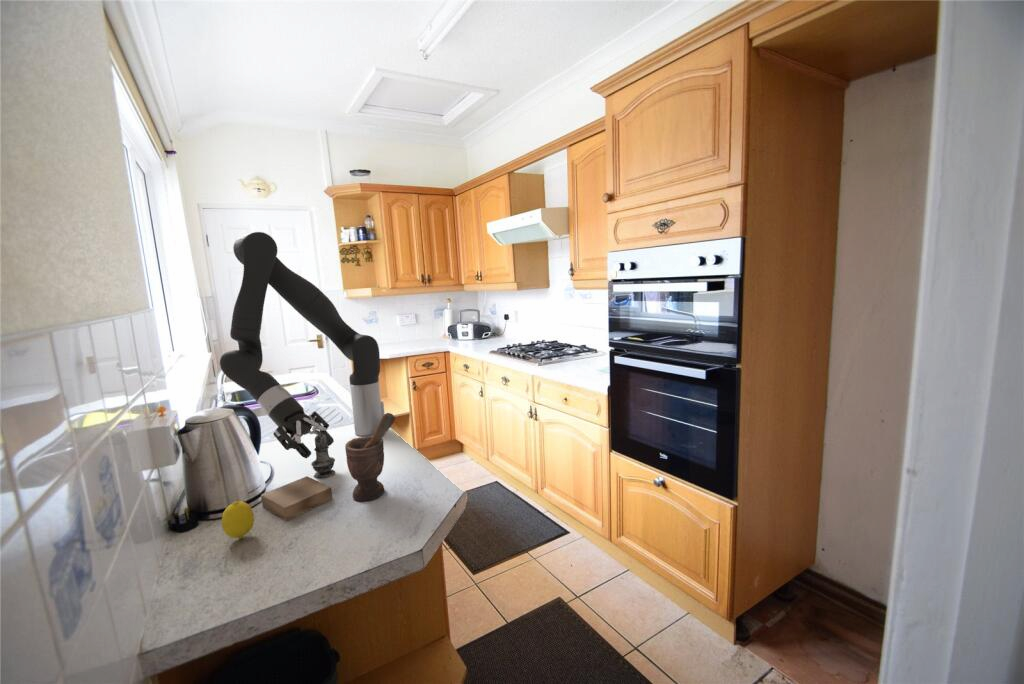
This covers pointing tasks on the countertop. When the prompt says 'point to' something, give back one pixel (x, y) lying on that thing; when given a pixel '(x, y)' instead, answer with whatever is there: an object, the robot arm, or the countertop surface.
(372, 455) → the mortar and pestle
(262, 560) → the countertop surface
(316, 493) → the walnut plinth
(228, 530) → the lemon
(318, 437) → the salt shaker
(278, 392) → the robot arm
